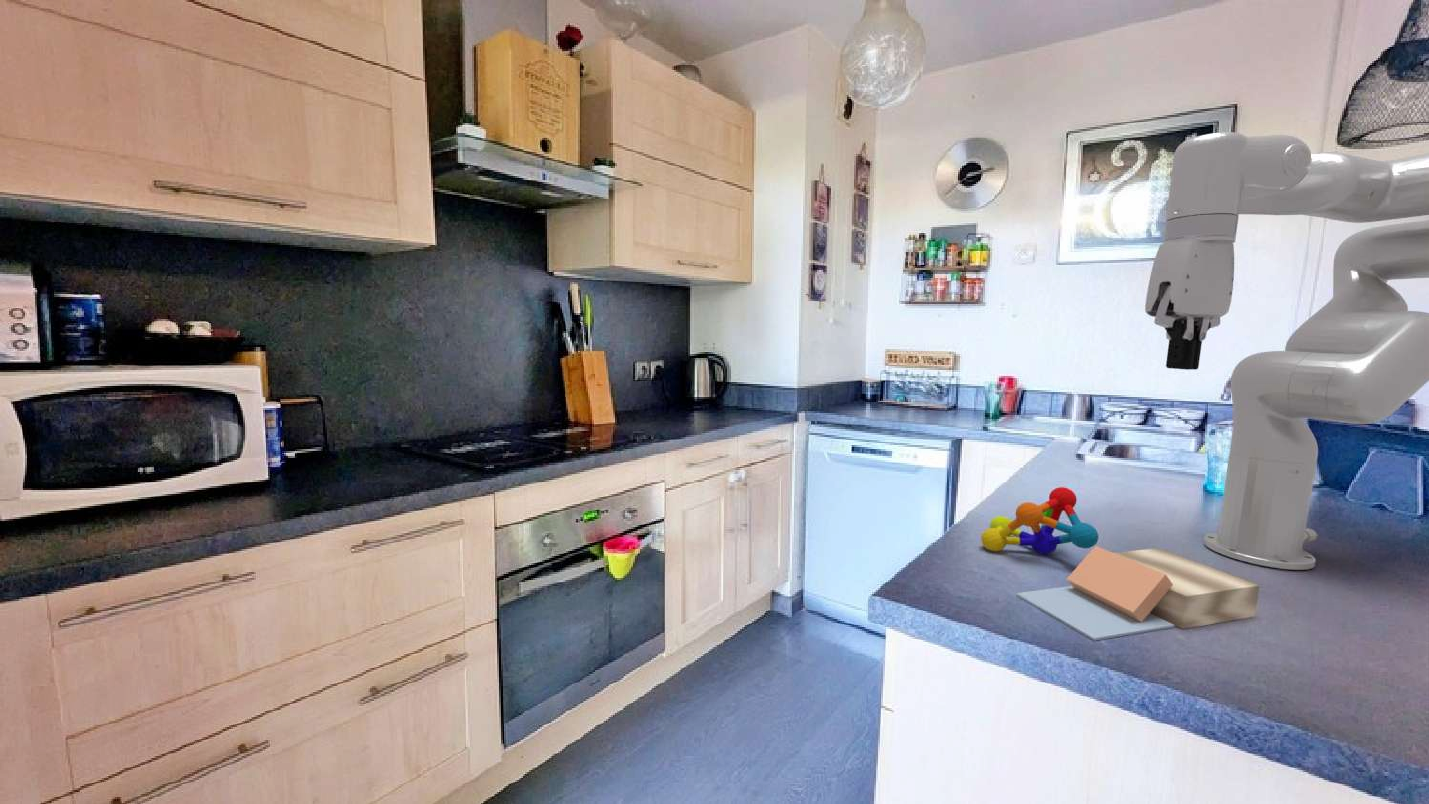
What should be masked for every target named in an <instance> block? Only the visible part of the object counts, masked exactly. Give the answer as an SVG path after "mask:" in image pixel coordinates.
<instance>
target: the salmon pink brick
mask: <svg viewBox="0 0 1429 804" xmlns="http://www.w3.org/2000/svg"><path fill="white" fill-rule="evenodd" d="M1115 553H1116V552H1112V551H1109V550H1107V549H1105V548H1102V547H1100V546H1097V545H1094V546H1093V547H1092V549H1091V550H1090V552H1089V553H1088V554H1087V555H1086V556H1085V557H1084V559H1083V560H1081V562H1080V563H1079V564H1078V565H1077V566H1076V568H1075V569H1074V570H1073V571H1072V572H1071V573H1070V575H1068V577H1067V578H1066V580H1067V582H1068V583H1069V584H1070V586H1072V587H1073V588H1074V589H1076V590H1078V591H1080V592H1082V593H1084V594H1086V595H1088V596H1090V597H1092V598H1094V599H1096V600H1098V601H1100V602H1102V603H1104V604H1106V605H1108V606H1110V607H1111V608H1113V609H1115V610H1117V611H1119V612H1121V613H1123V614H1125V615H1127V616H1129V617H1131V618H1133V619H1135V620H1137V621H1139V622H1142V621H1143V620H1144V619H1145V617H1146V616H1147V615H1148V614H1149V613H1150V611H1151V610H1152V609H1153V608H1154V607H1155V606H1156V604H1157V603H1158V602H1159V601H1160V600H1161V599H1162V597H1163V596H1164V595H1165V594H1166V593H1167V591H1168V590H1169V589H1170V588H1171V587H1172V586H1173V584H1172V583H1171V581H1170V580H1169V578H1168V577H1167V576H1166V574H1163V573H1161V572H1159V571H1156V570H1154V569H1151V568H1149V567H1146V566H1144V565H1142V564H1139V563H1137V562H1134V561H1132V560H1129V559H1127V558H1125V557H1122V556H1120V555H1117V554H1115Z"/></svg>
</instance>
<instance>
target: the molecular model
mask: <svg viewBox="0 0 1429 804" xmlns="http://www.w3.org/2000/svg"><path fill="white" fill-rule="evenodd" d="M1076 504H1077V496H1076V493H1075V492H1074V491H1073V490H1072V489H1070V488H1068V487H1062V486H1061V487H1060V486H1059V487H1056V488H1054V489H1052V491H1050V493H1049V496H1048V500H1047V501H1045V502H1043V503H1041V504H1039V505H1038V504H1036V503H1035V502H1030V501H1029V502H1022V503H1021V504H1019V505H1018V506H1017V508H1016V510H1015V517H1016V518H1015V519H1012V520H1011V519H1010V518H1009V517H1007V516H1003V515H999V516H995V517H994V518H993V519H991V521H990V524H989V528H987V529H985V530H984V531H983V532H982V534H981V537H980V538H981V543H982V545H983V546H984V548H985V549H986V550H988V551H991V552H1000V551H1002V550H1003V549H1005V547H1006V546H1007V545H1010V546H1024V547H1026V546H1027V547H1031V549H1032V550H1033V551H1034V552H1036V553H1037V554H1040V555H1045V556H1047V555H1051V554H1052V553H1054V552H1055V551H1056V549H1057V547H1058V545H1061V544H1062V545H1063V544H1069V543H1072V544H1073V545H1074V546H1076V547H1078V548H1081V549H1090V548H1093V547H1095V546H1096V544H1097V543H1098V540H1099V533H1098V531H1097V529H1096V528H1095V527H1094V526H1093V525H1092V524H1089V523H1087V522H1081V520H1080V518H1079V517H1078V515H1077V513H1076V511H1075V510H1074V507H1075V506H1076ZM1063 512H1065V514H1066V517H1067V518H1068V520H1069V521H1070V523H1071V525H1069V524H1066V523H1063V522H1061V521H1060V518H1061V515H1062V513H1063ZM1040 524H1041V525H1040ZM1022 526H1025V527H1027V528H1028V527H1029V528H1031V530H1032V533H1033V534H1032V533H1028V532H1027V531H1023V530H1021V529H1019V528H1020V527H1022ZM1055 530H1057V531H1058V532H1059V531H1060V532H1062V533H1064V534H1062V535H1061V534H1060V535H1056V536H1054V535H1053V533H1054V531H1055Z"/></svg>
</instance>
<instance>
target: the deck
mask: <svg viewBox="0 0 1429 804" xmlns="http://www.w3.org/2000/svg"><path fill="white" fill-rule="evenodd" d="M1114 553H1115V554H1117V555H1120V556H1122V557H1125V558H1127V559H1129V560H1132V561H1134V562H1137V563H1139V564H1142V565H1144V566H1146V567H1149V568H1151V569H1154V570H1156V571H1159V572H1161V573H1163V574H1166V576H1167V577H1168V578H1169V580H1170V581H1171V583H1172V584H1173V586H1172V587H1171V588H1170V589H1169V590H1168V591H1167V593H1166V594H1165V595H1164V596H1163V597H1162V599H1161V600H1160V601H1159V602H1158V603H1157V604H1156V606H1155V607H1154V608H1153V609H1152V610H1151V611H1150V613H1151V614H1153V615H1155V616H1157V617H1159V618H1161V619H1163V620H1165V621H1167V622H1169V623H1172V624H1174V627H1177V628H1179V629H1181V630H1183V629H1190V628H1196V627H1201V626H1208V625H1213V624H1218V623H1219V624H1220V623H1224V622H1225V623H1226V622H1233V621H1238V620H1243V619H1249V618H1255V617H1256V610H1257V604H1258V598H1259V591H1260V584H1256V583H1254V582H1251V581H1249V580H1246V579H1243V578H1241V577H1237V576H1235V575H1232V574H1229V573H1227V572H1224V571H1222V570H1219V569H1216V568H1213V567H1210V566H1208V565H1205V564H1204V563H1200V562H1197V561H1194V560H1191V559H1190V558H1187V557H1184V556H1182V555H1179V554H1175V553H1173V552H1170V551H1168V550H1165V549H1162V548H1160V547H1154V548H1146V549H1145V548H1144V549H1136V550H1128V551H1119V552H1114Z"/></svg>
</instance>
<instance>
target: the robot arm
mask: <svg viewBox="0 0 1429 804" xmlns="http://www.w3.org/2000/svg"><path fill="white" fill-rule="evenodd" d="M1171 167H1172V168H1171V175H1170V183H1169V184H1170V185H1169V192H1168V193H1169V194H1168V199H1167V200H1168V201H1167V208H1166V209H1167V210H1166V217H1165V225H1164V233H1163V239H1162V240H1163V242H1162V243H1161V244H1159V247H1158V249H1157V251H1156V254H1155V257H1154V260H1153V264H1152V268H1151V272H1150V276H1149V277H1150V278H1149V281H1148V286H1147V293H1146V298H1145V306H1144V307H1145V309H1144V310H1145V311H1144V312H1145V313H1146V314H1147V315H1148V316H1149V317H1152V318H1154V321H1153V322H1154V325H1157V326H1160V327H1161V328H1164V330H1165V331H1166V333H1165V334H1166V335H1165V336H1166V339H1167V340H1168V346H1167V347H1168V348H1167V353H1166V362H1165V363H1166V364H1165V367H1166V368H1167V369H1175V370H1188V371H1189V370H1190V371H1191V370H1198V369H1199V366H1200V359H1201V358H1200V357H1201V351H1202V346H1203V341H1204V340H1205V339H1206V337H1207V332H1208V331H1209V330H1210V329H1212V328H1216V327H1218V326H1220V325H1221V318H1222V317H1223V316H1226V315H1227V314H1228V313H1229V310H1230V308H1231V303H1232V298H1233V291H1234V277H1235V249H1234V248H1235V247H1234V243H1236V237H1237V230H1238V223H1239V215H1256V216H1257V215H1261V216H1262V215H1265V216H1267V215H1268V216H1299V215H1302V216H1309V217H1314V218H1316V217H1317V218H1322V219H1329V220H1334V221H1339V222H1344V223H1345V222H1346V223H1352V224H1353V223H1356V224H1360V223H1363V224H1364V223H1375V222H1383V221H1384V222H1385V221H1391V220H1399V219H1406V218H1414V217H1422V216H1428V215H1429V152H1428V153H1423V154H1417V155H1412V156H1407V157H1403V158H1398V159H1397V158H1396V159H1392V160H1383V161H1382V160H1381V161H1380V160H1375V159H1371V158H1366V157H1362V156H1356V155H1352V154H1348V153H1343V152H1337V151H1336V152H1335V151H1333V152H1332V151H1331V152H1317V153H1311V150H1310V148H1309V146H1308V145H1307V143H1305V142H1304V141H1303V140H1302V139H1300V138H1298V137H1295V136H1293V135H1285V134H1269V135H1259V136H1258V135H1257V136H1255V135H1254V136H1245V135H1243V134H1242V133H1240V132H1232V131H1225V132H1222V131H1221V132H1213V133H1207V134H1202V135H1198V136H1195V137H1192V138H1190V139H1187V140H1185V141H1183V142H1182V143H1180V144H1179V145H1178V146H1177V148H1176V150H1175V152H1174V154H1173V159H1172V166H1171ZM1332 267H1333V270H1332V273H1333V274H1332V278H1333V279H1332V280H1333V281H1332V282H1333V283H1332V284H1333V285H1332V286H1333V287H1332V289H1333V291H1332V298H1331V299H1330V300H1329V301H1328V302H1327V303H1325V305H1323V306H1322V307H1321V308H1319V310H1317V311H1316V312H1315V313H1314V314H1313V315H1312V316H1310V317H1309V318H1307V320H1306V321H1304V322H1303V323H1302V324H1300V326H1298V328H1296V330H1295V331H1293V332H1292V334H1291V335H1290V336H1289V338H1288V339H1287V341H1286V344H1285V347H1284V350H1271V351H1262V352H1257V353H1254V354H1251V355H1249V356H1246V357H1245V358H1243V359H1242V360H1240V361H1239V362H1238V363H1237V364H1236V365H1235V368H1233V371H1232V374H1231V378H1230V394H1231V401H1232V414H1233V415H1232V418H1233V419H1232V432H1231V440H1230V441H1231V442H1230V447H1229V453H1228V454H1229V455H1228V461H1227V467H1226V475H1225V483H1224V489H1223V496H1222V505H1221V511H1220V517H1219V518H1220V519H1219V526H1218V532H1211V533H1207V534H1206V535H1205V536H1204V538H1203V544H1204V545H1205V546H1206V547H1207V548H1208V549H1210V550H1212V551H1214V552H1216V553H1218V554H1221V555H1223V556H1226V557H1228V558H1231V559H1235V560H1238V561H1242V562H1243V563H1249V564H1253V565H1258V566H1263V567H1268V568H1273V569H1281V570H1290V571H1291V570H1292V571H1293V570H1295V571H1303V570H1305V571H1307V570H1311V569H1313V568H1315V566H1316V561H1317V560H1316V557H1314V556H1313V555H1312V554H1311V553H1309V552H1307V551H1306V550H1304V549H1303V546H1304V543H1305V542H1311V541H1315V540H1316V539H1317V537H1318V534H1317V532H1316V531H1315V530H1314V529H1312V528H1307V522H1308V516H1309V511H1310V504H1311V497H1312V493H1313V492H1312V491H1313V486H1314V479H1315V473H1316V467H1317V463H1318V456H1319V447H1318V441H1317V440H1316V437H1315V436H1314V433H1313V431H1312V430H1311V428H1310V427H1309V425H1308V424H1307V422H1306V421H1305V419H1310V420H1316V421H1324V422H1335V423H1341V424H1344V423H1345V424H1351V425H1353V424H1354V425H1368V424H1374V423H1379V422H1380V421H1383V420H1385V419H1387V418H1388V417H1389V416H1391V415H1393V413H1394V412H1396V411H1397V410H1399V408H1401V406H1403V405H1404V404H1405V403H1406V402H1407V401H1408V400H1409V399H1410V398H1411V397H1413V396H1414V395H1415V394H1416V393H1417V392H1418V391H1419V390H1420V389H1421V388H1423V387H1424V386H1425V385H1426V384H1427V383H1428V382H1429V312H1426V311H1419V310H1409V307H1408V304H1407V302H1406V300H1405V299H1404V297H1403V296H1402V295H1401V293H1400V292H1398V291H1397V290H1396V289H1395V288H1394V287H1392V286H1391V285H1390V284H1388V283H1387V282H1388V281H1391V280H1394V281H1395V280H1411V279H1413V280H1414V279H1426V278H1428V279H1429V219H1428V220H1418V221H1411V222H1402V223H1395V224H1388V225H1381V226H1375V227H1371V228H1367V229H1363V230H1361V231H1357V232H1356V233H1353V234H1352V235H1350V236H1348V237H1347V238H1345V239H1344V240H1343V241H1342V242H1341V243H1340V245H1338V248H1337V250H1336V251H1335V253H1334V259H1333V266H1332Z"/></svg>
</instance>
